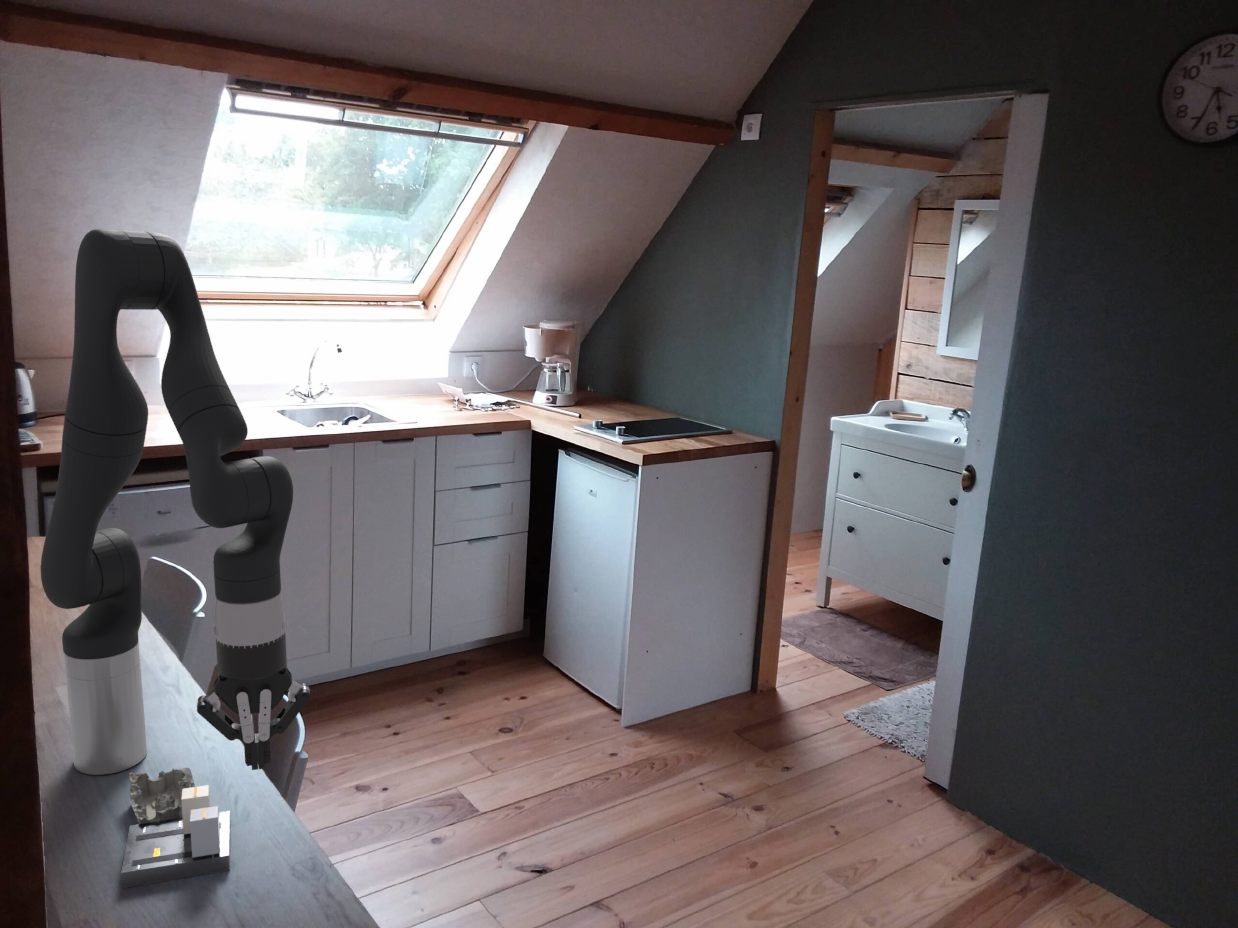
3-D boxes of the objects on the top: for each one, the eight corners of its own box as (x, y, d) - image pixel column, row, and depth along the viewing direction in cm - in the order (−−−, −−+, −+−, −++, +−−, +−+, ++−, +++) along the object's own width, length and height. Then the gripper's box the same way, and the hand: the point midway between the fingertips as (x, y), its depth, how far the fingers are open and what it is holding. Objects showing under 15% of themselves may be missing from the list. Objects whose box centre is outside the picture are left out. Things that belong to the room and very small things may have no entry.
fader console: (131, 839, 123) (129, 824, 122) (230, 824, 127) (229, 809, 126) (122, 887, 114) (121, 872, 114) (229, 869, 118) (228, 854, 118)
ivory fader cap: (184, 823, 123) (182, 788, 122) (211, 819, 124) (209, 784, 123) (183, 834, 121) (181, 798, 119) (210, 830, 122) (208, 794, 120)
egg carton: (128, 797, 131) (126, 769, 131) (190, 783, 135) (188, 756, 134) (135, 840, 122) (133, 810, 122) (201, 824, 126) (199, 795, 125)
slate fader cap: (193, 845, 119) (190, 809, 117) (220, 840, 120) (218, 805, 118) (192, 857, 116) (189, 820, 115) (219, 852, 117) (217, 816, 116)
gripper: (309, 612, 119) (314, 742, 123) (189, 623, 115) (199, 758, 119) (313, 636, 112) (318, 773, 117) (186, 649, 108) (196, 791, 112)
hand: (258, 765), depth 118 cm, fingers closed
